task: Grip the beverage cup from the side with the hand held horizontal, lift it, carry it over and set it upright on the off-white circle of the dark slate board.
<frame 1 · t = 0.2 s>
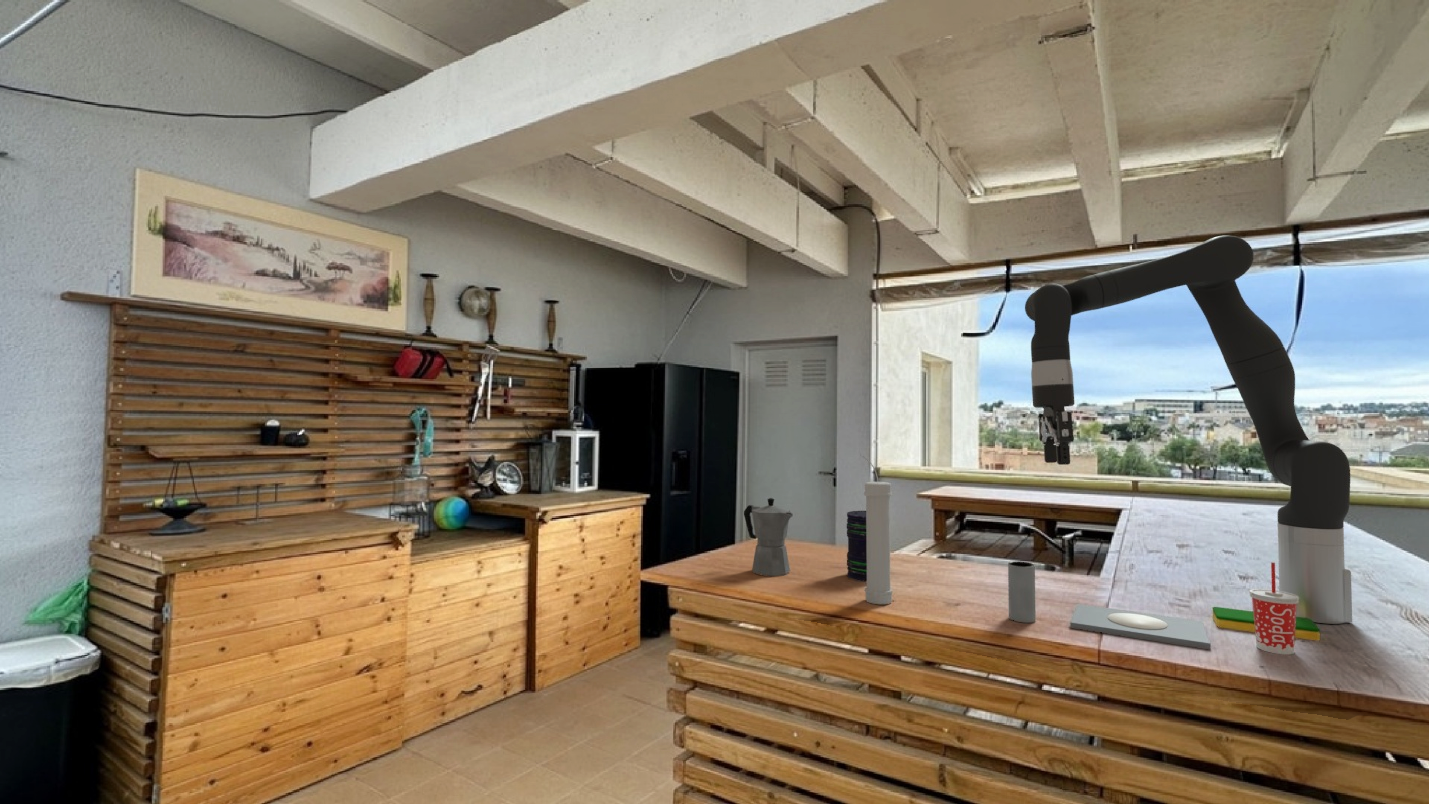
hand: (1057, 463, 131), 28 cm above the table, tool pointing down, fingers open, 8 cm apart
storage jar: (868, 577, 154), on the table
beverage cup: (1275, 650, 105), on the table
slate board: (1137, 627, 116), on the table
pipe: (876, 602, 133), on the table
coffeepot: (767, 572, 160), on the table
gray cylinder: (1022, 620, 121), on the table
dish sponge: (1263, 631, 116), on the table
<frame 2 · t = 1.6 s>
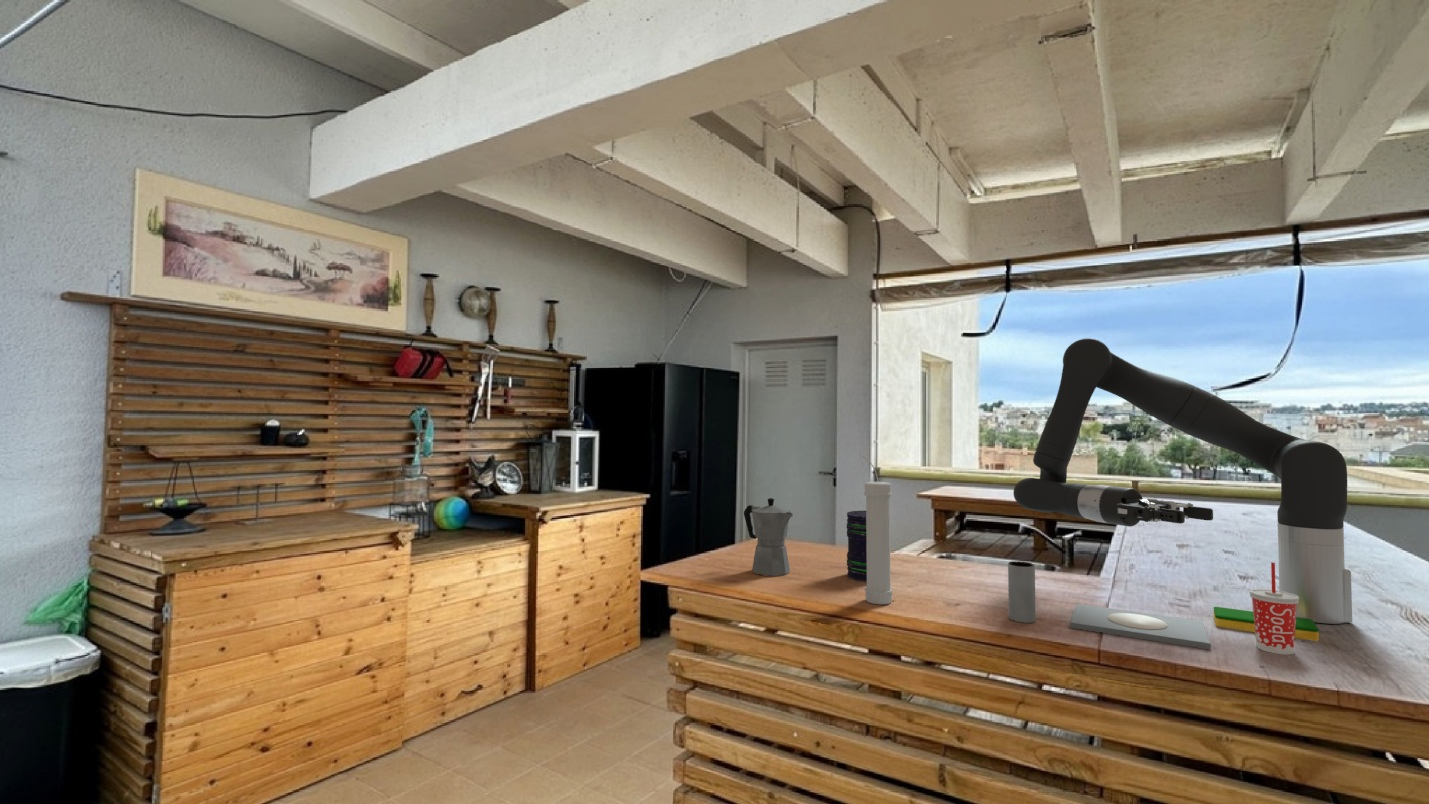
hand: (1198, 516, 116), 20 cm above the table, tool horizontal, fingers open, 8 cm apart
nothing on the table moved.
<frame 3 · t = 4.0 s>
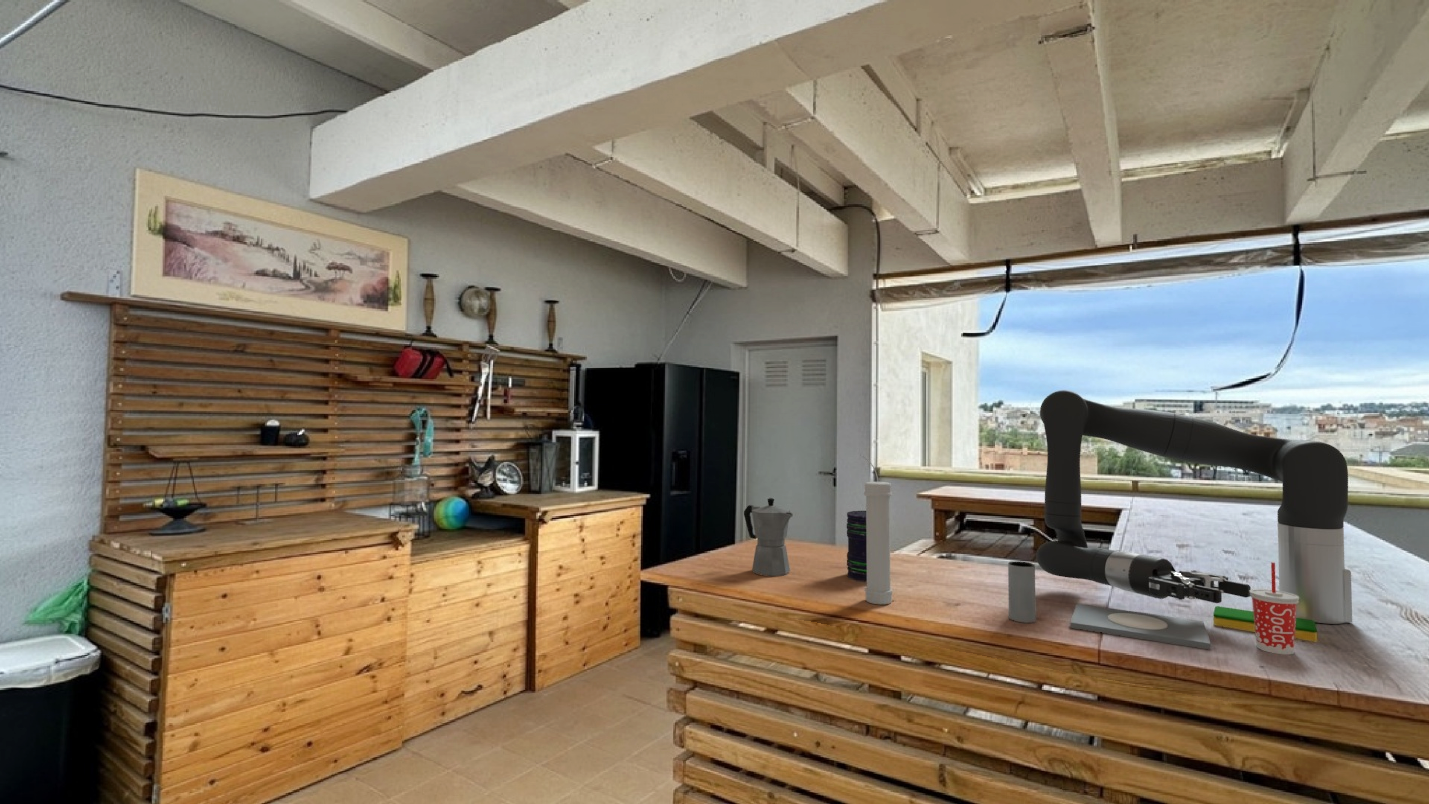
hand: (1235, 594, 111), 8 cm above the table, tool horizontal, fingers open, 8 cm apart
nothing on the table moved.
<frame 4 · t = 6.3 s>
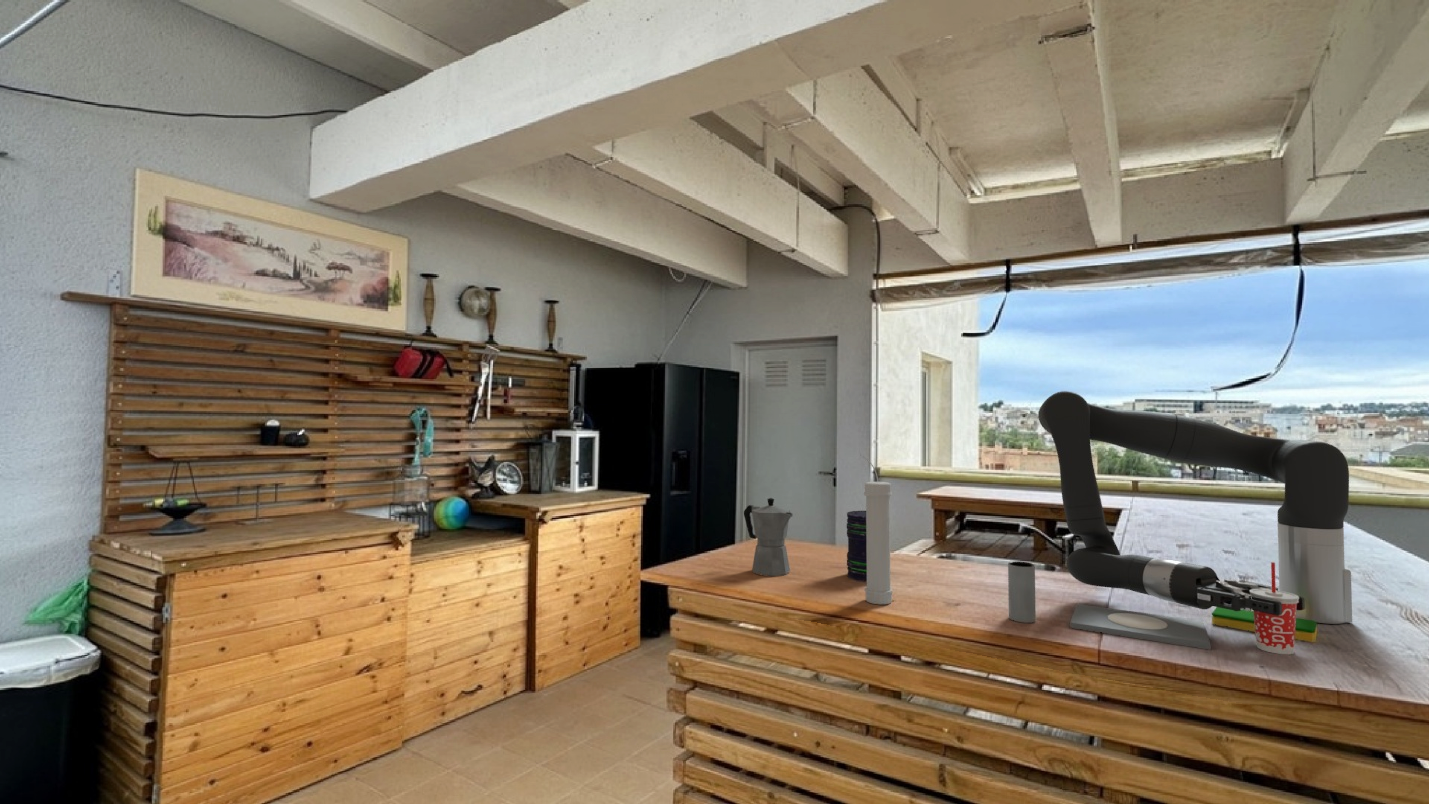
hand: (1291, 606, 103), 8 cm above the table, tool horizontal, fingers closed on beverage cup, 6 cm apart
beverage cup: (1275, 650, 105), on the table, touching gripper
everything else where it was.
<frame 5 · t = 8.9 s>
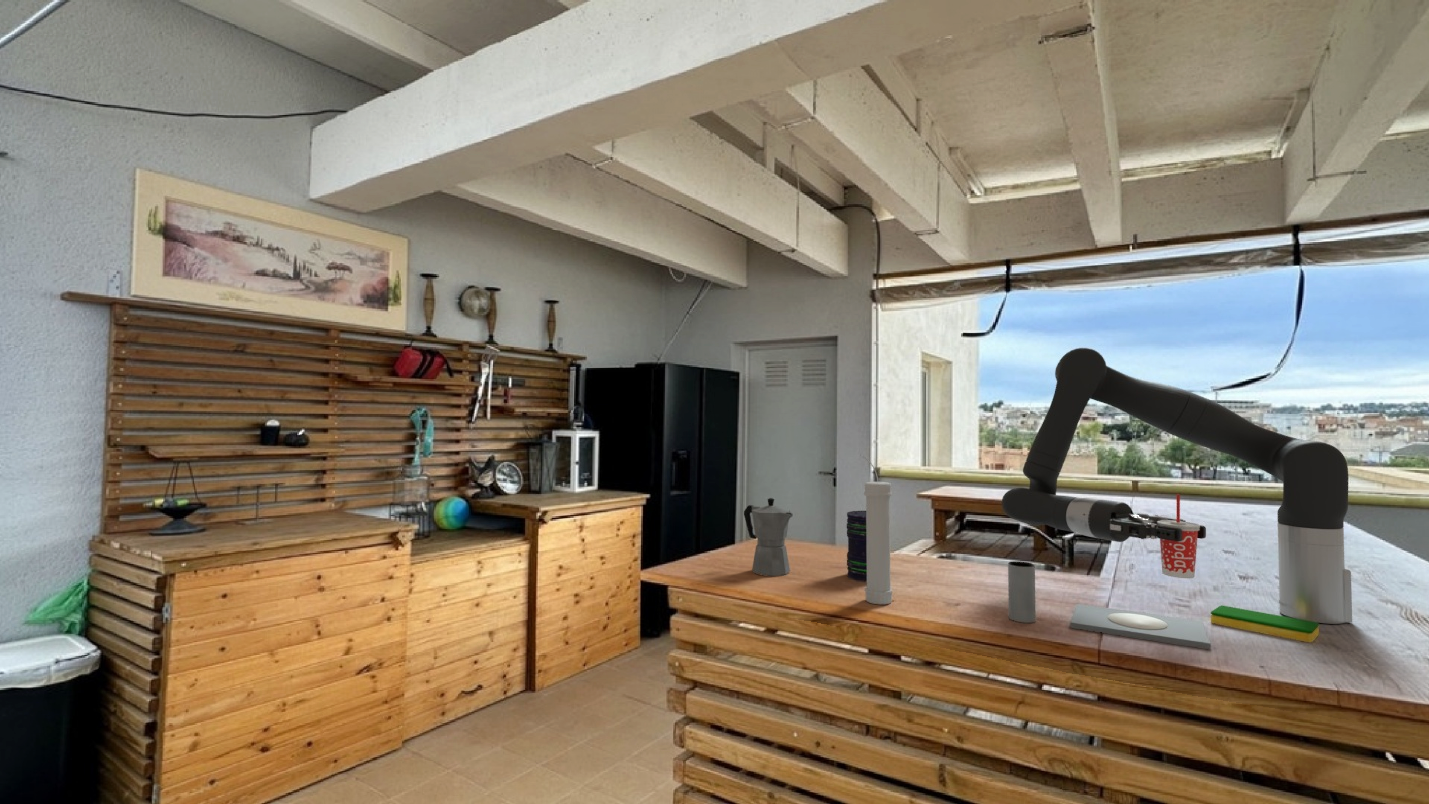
hand: (1192, 533, 111), 18 cm above the table, tool horizontal, fingers closed on beverage cup, 6 cm apart
beverage cup: (1178, 576, 113), point 10 cm above the table, touching gripper
when the fingers open (10 cm above the table, at t = 11.8 s): beverage cup stays where it is, resting on slate board.
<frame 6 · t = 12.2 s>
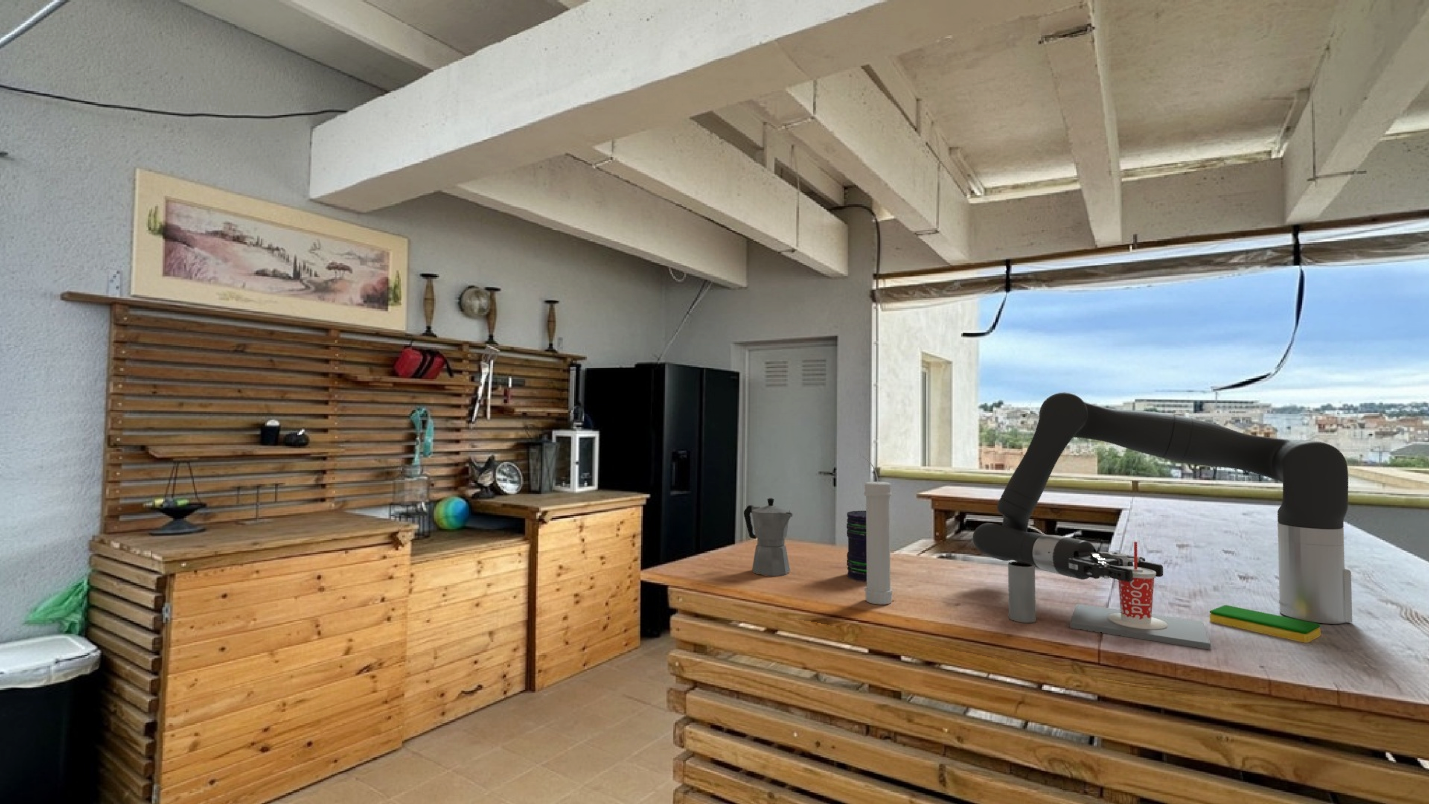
hand: (1147, 573, 115), 10 cm above the table, tool horizontal, fingers open, 8 cm apart
beverage cup: (1135, 621, 117), point 1 cm above the table, touching slate board
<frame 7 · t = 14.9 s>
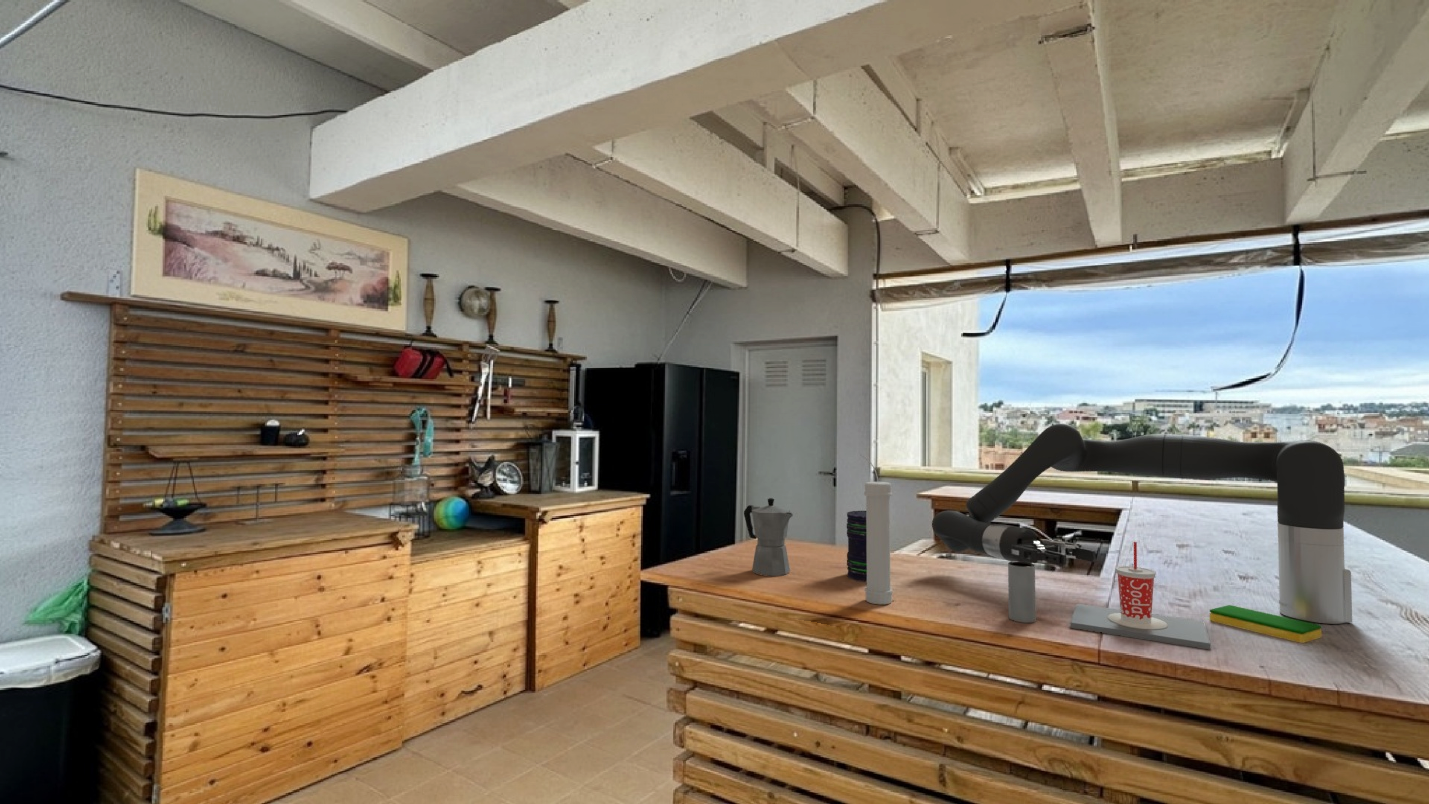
hand: (1080, 558, 126), 10 cm above the table, tool horizontal, fingers open, 8 cm apart
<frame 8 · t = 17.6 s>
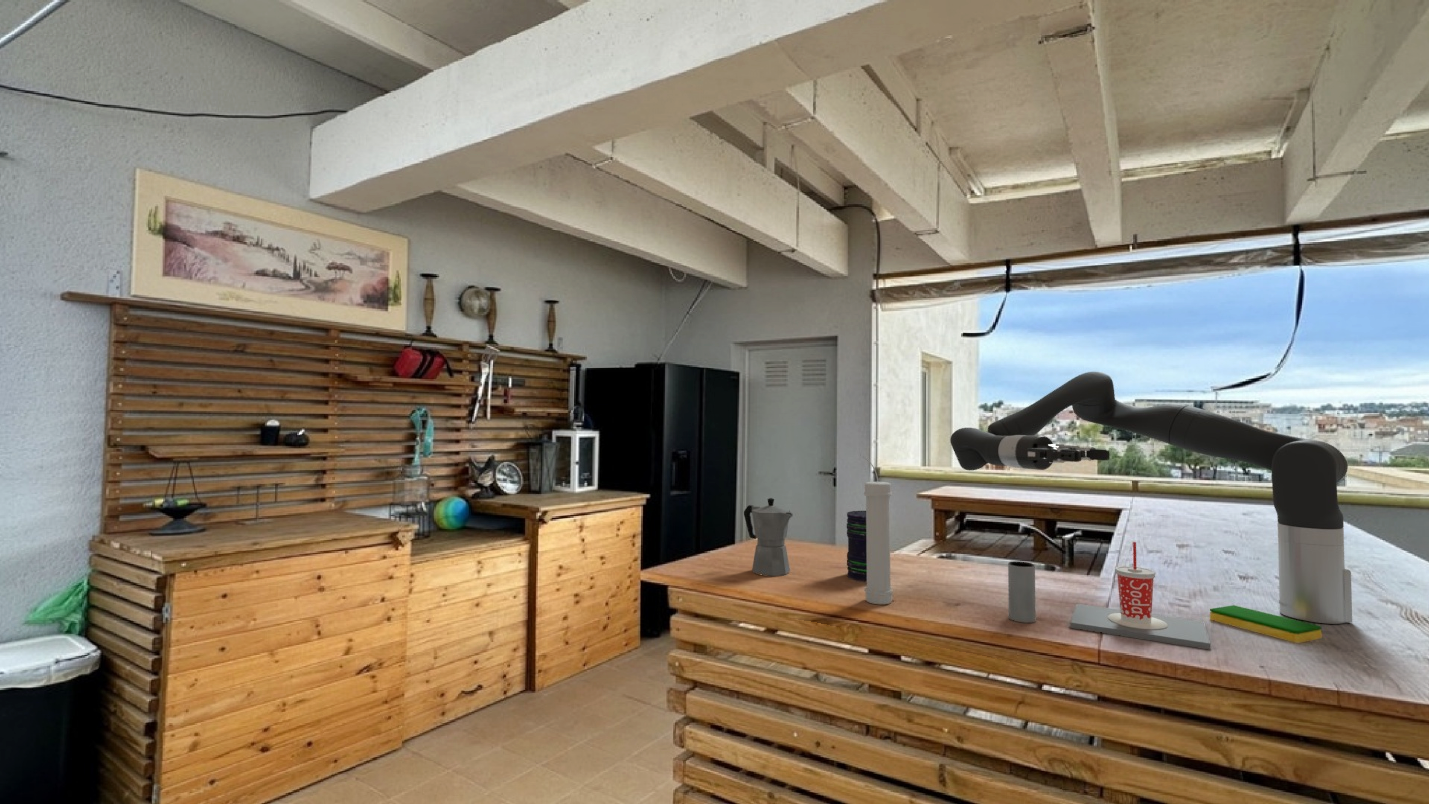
hand: (1094, 455, 131), 30 cm above the table, tool horizontal, fingers open, 8 cm apart
at the end: beverage cup 0.2 cm off-centre on the slate board, point 1.0 cm above the slate board's base; beverage cup tilted 0°; the gripper is holding nothing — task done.
